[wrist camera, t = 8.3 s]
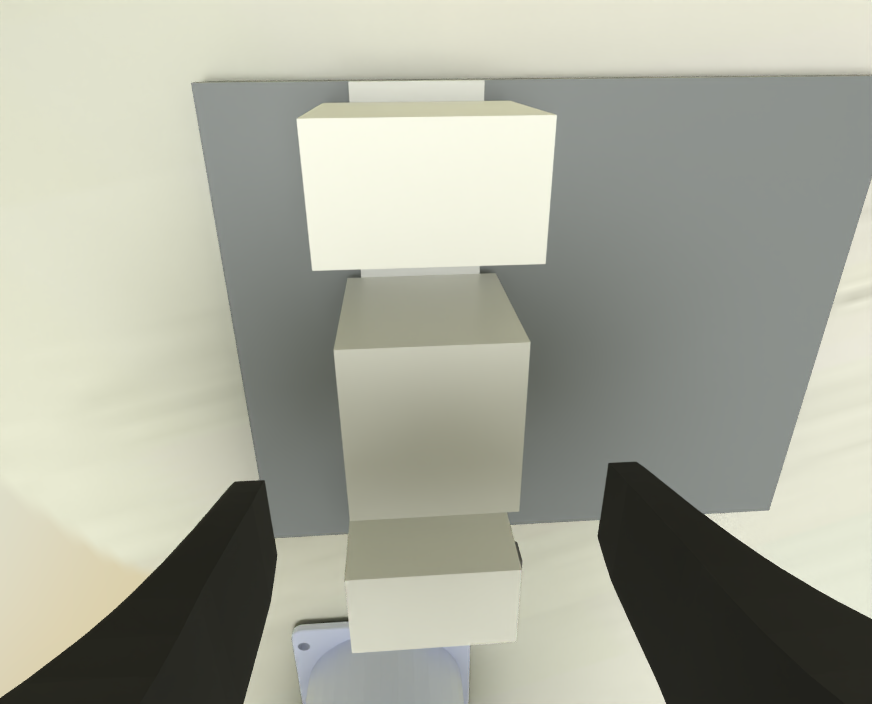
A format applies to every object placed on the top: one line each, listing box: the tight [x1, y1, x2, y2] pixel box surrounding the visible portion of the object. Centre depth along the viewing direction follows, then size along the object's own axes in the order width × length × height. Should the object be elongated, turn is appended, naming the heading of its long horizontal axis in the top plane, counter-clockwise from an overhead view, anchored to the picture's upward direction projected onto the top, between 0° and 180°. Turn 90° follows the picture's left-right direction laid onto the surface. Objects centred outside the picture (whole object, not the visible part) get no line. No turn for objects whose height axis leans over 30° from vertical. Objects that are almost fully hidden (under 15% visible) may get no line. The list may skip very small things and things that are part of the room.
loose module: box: [334, 273, 531, 521], centre depth 17 cm, size 5×4×5 cm
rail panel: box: [191, 75, 872, 653], centre depth 18 cm, size 16×20×7 cm
